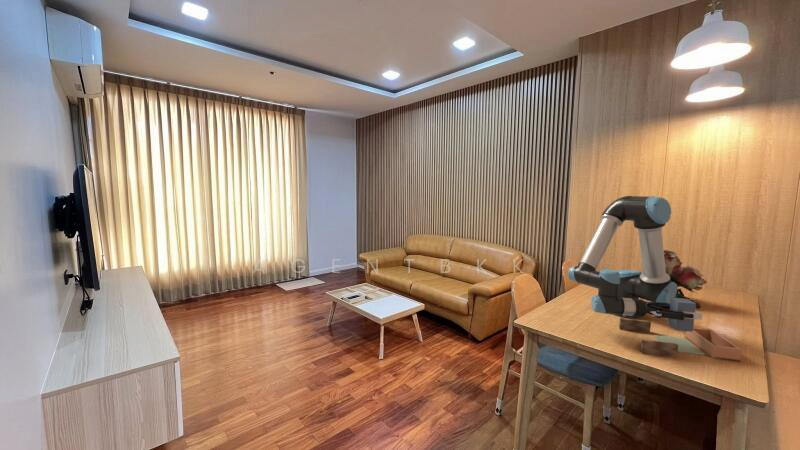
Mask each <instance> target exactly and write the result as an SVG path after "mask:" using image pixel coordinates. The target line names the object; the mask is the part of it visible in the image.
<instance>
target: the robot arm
mask: <svg viewBox="0 0 800 450" xmlns="http://www.w3.org/2000/svg"><path fill="white" fill-rule="evenodd" d="M671 215H672V206H671V204H670V202H669V201H668V200H667V199H666V198H664V197H662V196H661V197H660V196H645V195H644V196H640V195H639V196H638V195H634V196H632V195H625V196H622V197H619V198H617V199H615V200H614V201H612V202H611V203H610V204H608V205H607V207H605V209H604V210H603V212H602V214H601V215H600V220H601V221H600V222H599V224H598V226H597V228H596V230H595V231H594V234H593V235H592V238H591V240H590V241H589V243H588V245H587V247H586V249H585V251H584V253H583V254H582V257H581V259H580V260H579V262H578V265H572V266H571V267H569V269H568V271H567V277H568V279H569V281H572V282H574V283H577V284H581V285H585V286H587V287H592V288H595V289H598V291H597V295H596V294H595V295H593V296H591V301H590V305H591V309H592V311H593V312H594V313H598V314H599V313H600V314H604V315H614V316H618V317H620V318H625V319H638V318H644V317H646V315H649V316H655V318H657V319H658V318H659V319H660V318H662V319H668V318H669V319H677V320H684V318H687V319H694V320H699V321H703V313H702V312H696V311H695V312H687V311H682V312H679V311H673V310H669V309H670V305H669V303H670V300H671V298H675V296H676V293H677V288H678V287H677V284H676V283H674V282H671V281H670V276H669V275H668V274H667V273H666V271H665V260H664V254H665V253H664V250H665V249H664V239H663V228H664V227H665V226H666V224H667V223H668V222H669V220H670V219H671ZM626 221H629V222H630V221H631V222H632V223H633V227H634V228H635V229H637V230H638V238H639V248H640V257H641V264H642V265H641V266H642V271H640V270H638V269H637V270H636V269H617V270H615V269H609V268H601V270H600V271H597V269H598V266H599V265H600V262H601V261H602V260H603V257H604V255H605V253H606V251H607V249H608V247H609V246H610V244H611V242H612V239H613V237H614V236H615V234H616V232H617V230H618V228H619V227H621V226H623V224H624V223H625V222H626ZM649 301H651V302H649Z"/></svg>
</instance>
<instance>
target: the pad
mask: <svg viewBox="0 0 800 450" xmlns="http://www.w3.org/2000/svg"><path fill="white" fill-rule="evenodd" d="M653 337H654V338H655V339H657V341H658V342H666V343H675V344H677V345H678V352H677V353H682V354H683V353H684V354H693V355H701V356H706V355H707V354H706V353H705V352H703V351H702V350H701V349H699V348H698V347H697V346H696V345H694V344H693V343H692V342H690V341H689V340H688V339H687V338H684V337H683V338H682V337H678V336H677V337H673V336H667V335H666V336H665V335H657V334H653Z"/></svg>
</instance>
